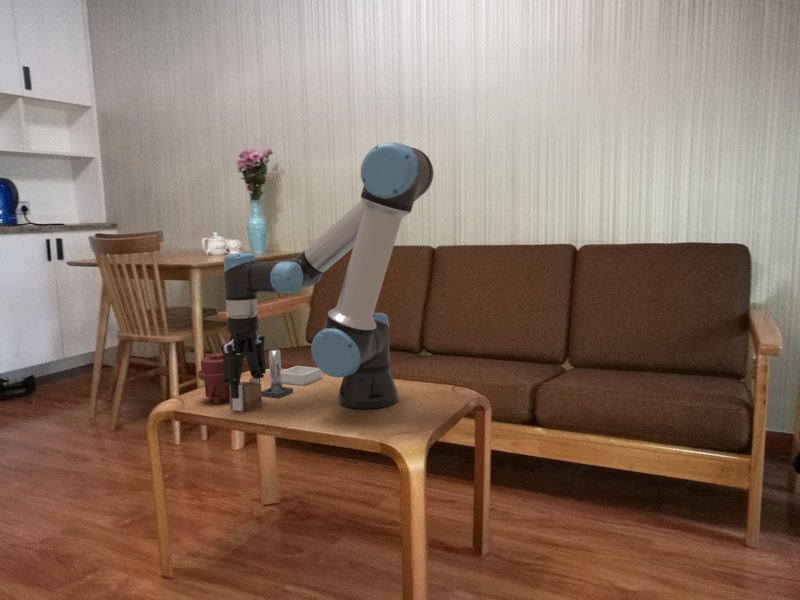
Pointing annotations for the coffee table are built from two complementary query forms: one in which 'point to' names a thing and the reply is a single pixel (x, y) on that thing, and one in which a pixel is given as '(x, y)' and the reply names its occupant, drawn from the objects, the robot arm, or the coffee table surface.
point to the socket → (284, 392)
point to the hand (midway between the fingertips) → (246, 406)
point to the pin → (275, 371)
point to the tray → (301, 375)
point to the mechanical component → (214, 378)
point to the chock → (249, 396)
